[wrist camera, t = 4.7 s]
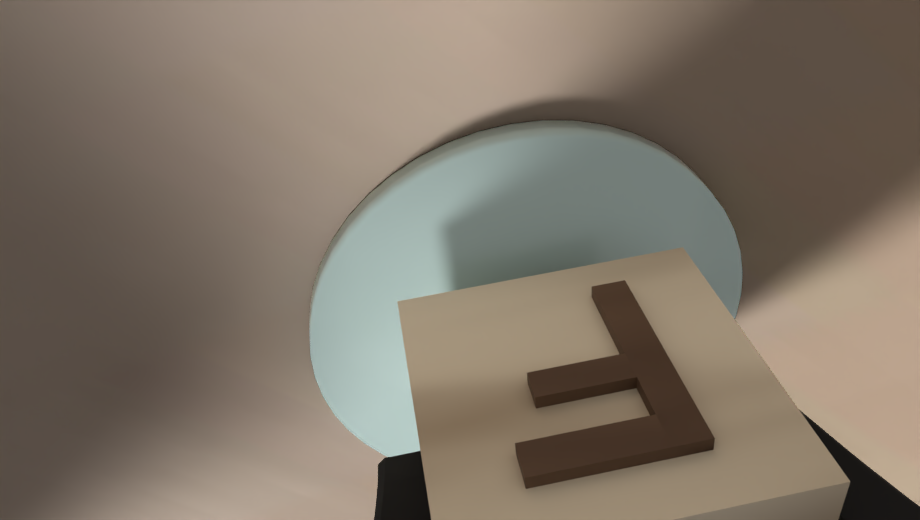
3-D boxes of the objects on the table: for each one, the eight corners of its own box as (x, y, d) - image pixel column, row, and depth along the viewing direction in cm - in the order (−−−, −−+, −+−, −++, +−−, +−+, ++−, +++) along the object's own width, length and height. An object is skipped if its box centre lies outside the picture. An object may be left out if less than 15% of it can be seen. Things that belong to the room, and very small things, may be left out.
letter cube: (667, 438, 14) (788, 677, 11) (435, 486, 14) (479, 750, 10) (684, 237, 12) (854, 470, 8) (395, 291, 11) (436, 558, 8)
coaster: (707, 413, 17) (720, 434, 16) (355, 486, 16) (356, 510, 16) (752, 81, 12) (771, 96, 12) (256, 167, 12) (254, 188, 11)
